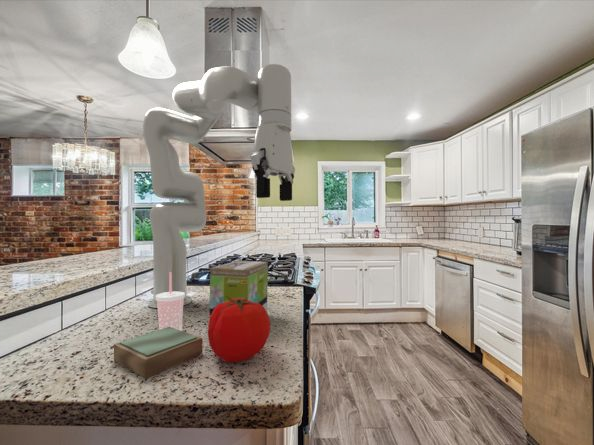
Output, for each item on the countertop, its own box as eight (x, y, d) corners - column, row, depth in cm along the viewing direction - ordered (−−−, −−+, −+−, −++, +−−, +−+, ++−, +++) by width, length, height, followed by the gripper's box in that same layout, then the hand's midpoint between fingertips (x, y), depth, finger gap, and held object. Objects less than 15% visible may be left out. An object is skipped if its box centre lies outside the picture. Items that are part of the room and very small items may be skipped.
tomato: (214, 345, 61) (214, 291, 61) (270, 343, 62) (270, 289, 62) (199, 375, 49) (199, 307, 49) (269, 372, 50) (269, 305, 50)
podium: (113, 360, 54) (113, 342, 54) (169, 340, 64) (169, 325, 64) (145, 378, 48) (145, 357, 48) (202, 353, 57) (202, 336, 57)
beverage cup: (170, 327, 72) (170, 269, 72) (190, 331, 69) (190, 270, 69) (149, 337, 66) (149, 273, 66) (171, 340, 64) (170, 275, 64)
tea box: (249, 333, 67) (248, 268, 68) (208, 331, 69) (207, 267, 70) (268, 314, 82) (268, 260, 82) (234, 312, 84) (234, 259, 84)
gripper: (280, 136, 77) (280, 202, 77) (237, 114, 62) (237, 197, 62) (306, 131, 74) (306, 201, 74) (268, 108, 58) (268, 195, 58)
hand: (275, 199), depth 68 cm, fingers open, 9 cm apart
